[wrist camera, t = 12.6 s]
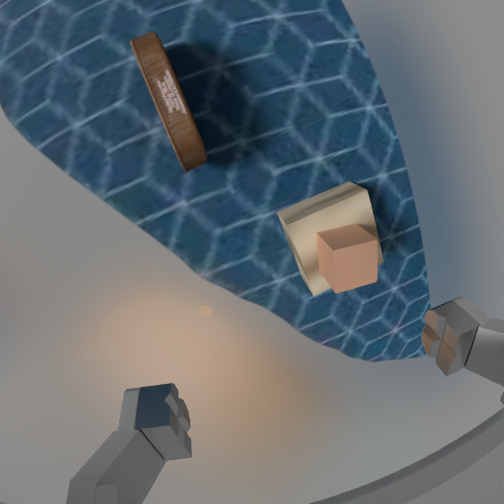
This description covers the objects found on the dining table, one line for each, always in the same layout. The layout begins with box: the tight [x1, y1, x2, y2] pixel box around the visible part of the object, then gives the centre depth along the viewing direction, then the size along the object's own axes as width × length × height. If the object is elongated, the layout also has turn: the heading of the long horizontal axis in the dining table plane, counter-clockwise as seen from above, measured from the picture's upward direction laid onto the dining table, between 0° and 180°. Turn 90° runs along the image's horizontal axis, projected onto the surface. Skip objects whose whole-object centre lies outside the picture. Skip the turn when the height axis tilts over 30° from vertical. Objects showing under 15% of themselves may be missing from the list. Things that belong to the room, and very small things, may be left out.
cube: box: [316, 224, 378, 293], centre depth 33 cm, size 5×5×5 cm
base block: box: [277, 181, 384, 296], centre depth 38 cm, size 10×10×5 cm
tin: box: [130, 32, 207, 173], centre depth 27 cm, size 15×3×8 cm, turn 20°
